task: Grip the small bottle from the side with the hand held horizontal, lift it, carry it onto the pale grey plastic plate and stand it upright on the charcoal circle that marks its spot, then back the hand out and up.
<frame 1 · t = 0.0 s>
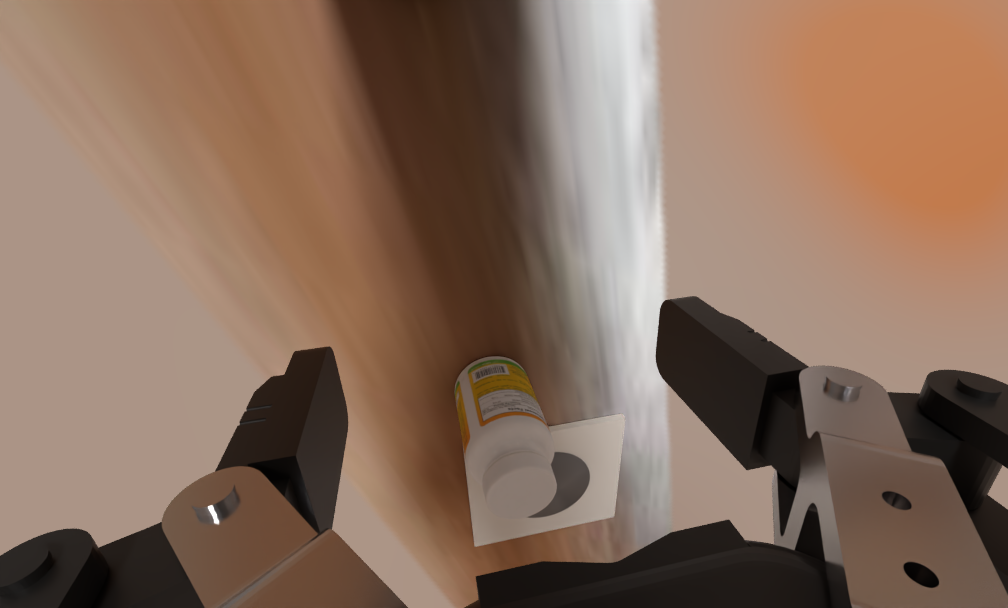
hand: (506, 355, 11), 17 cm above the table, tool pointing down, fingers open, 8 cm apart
supplement bottle: (490, 383, 34), on the table
layout plate: (544, 480, 39), on the table
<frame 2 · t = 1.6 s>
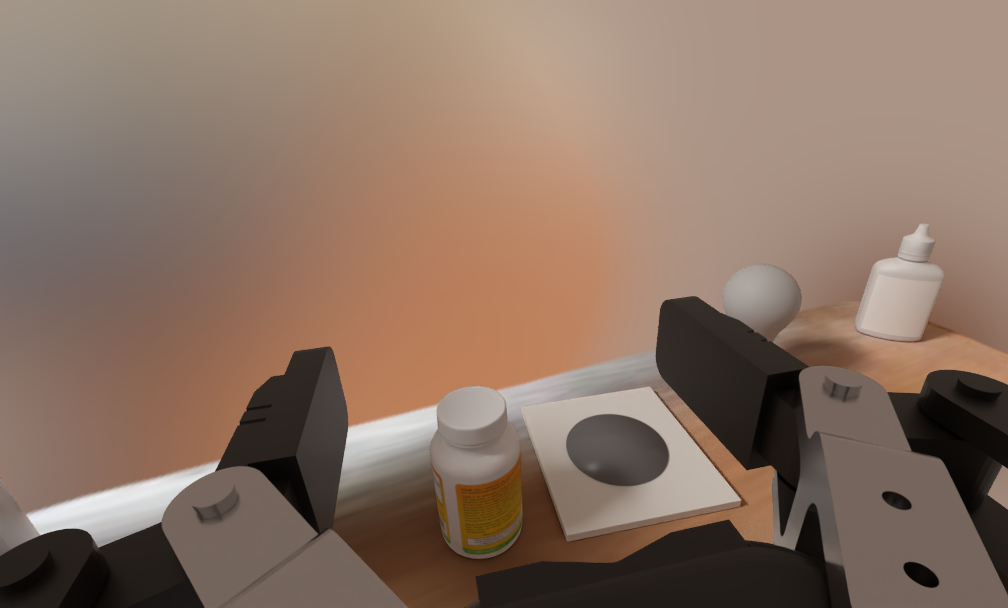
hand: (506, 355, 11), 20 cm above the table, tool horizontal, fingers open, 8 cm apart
eye dropper bottle: (885, 334, 50), on the table
lightbulb: (743, 375, 45), on the table
supplement bottle: (482, 526, 31), on the table
layout plate: (615, 453, 36), on the table
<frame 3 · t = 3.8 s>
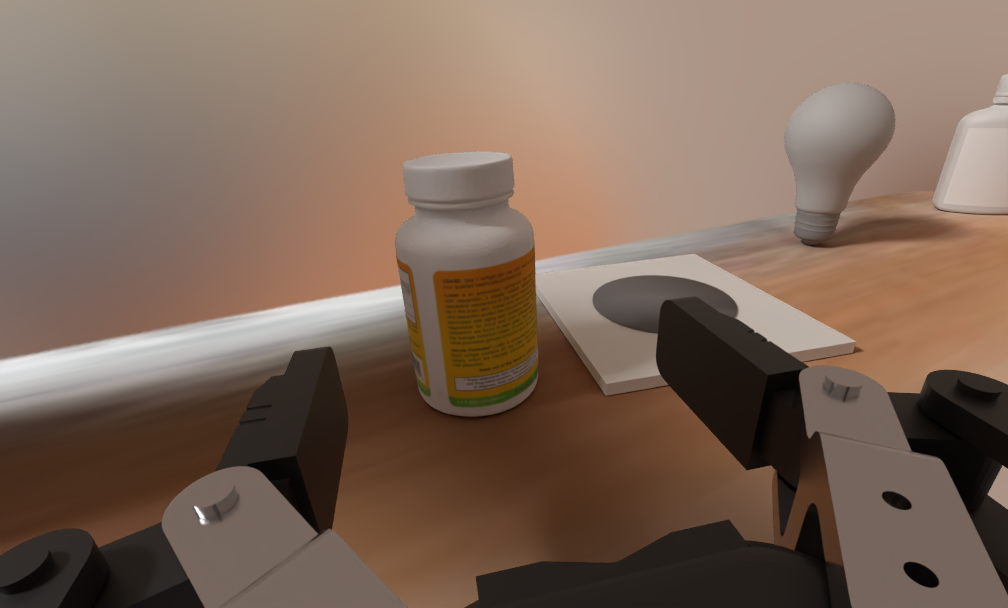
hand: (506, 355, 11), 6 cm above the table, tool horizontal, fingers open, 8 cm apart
eye dropper bottle: (972, 212, 41), on the table
lightbulb: (810, 246, 35), on the table
supplement bottle: (479, 386, 21), on the table
layout plate: (660, 311, 26), on the table
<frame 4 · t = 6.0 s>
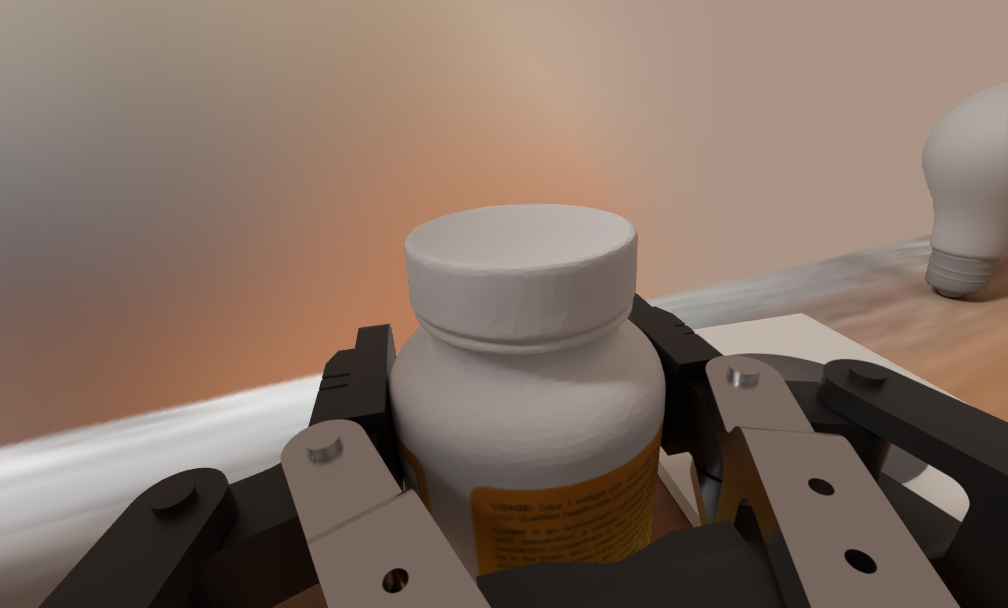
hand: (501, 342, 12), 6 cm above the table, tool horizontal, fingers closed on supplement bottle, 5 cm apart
lightbulb: (947, 298, 26), on the table
supplement bottle: (534, 595, 12), on the table, touching gripper
layout plate: (791, 422, 17), on the table
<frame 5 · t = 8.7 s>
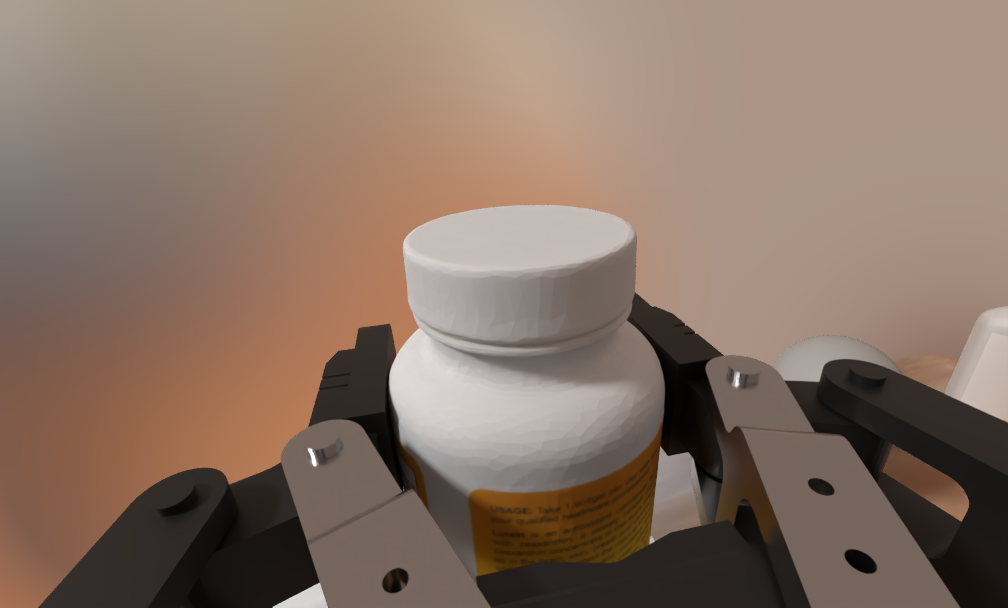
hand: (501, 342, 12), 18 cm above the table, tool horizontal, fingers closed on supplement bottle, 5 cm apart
eye dropper bottle: (992, 416, 34), on the table
lightbulb: (798, 502, 28), on the table
supplement bottle: (533, 596, 12), point 11 cm above the table, touching gripper
when the fingers open (8 cm above the table, at t = 11.4 s): supplement bottle stays where it is, resting on layout plate.
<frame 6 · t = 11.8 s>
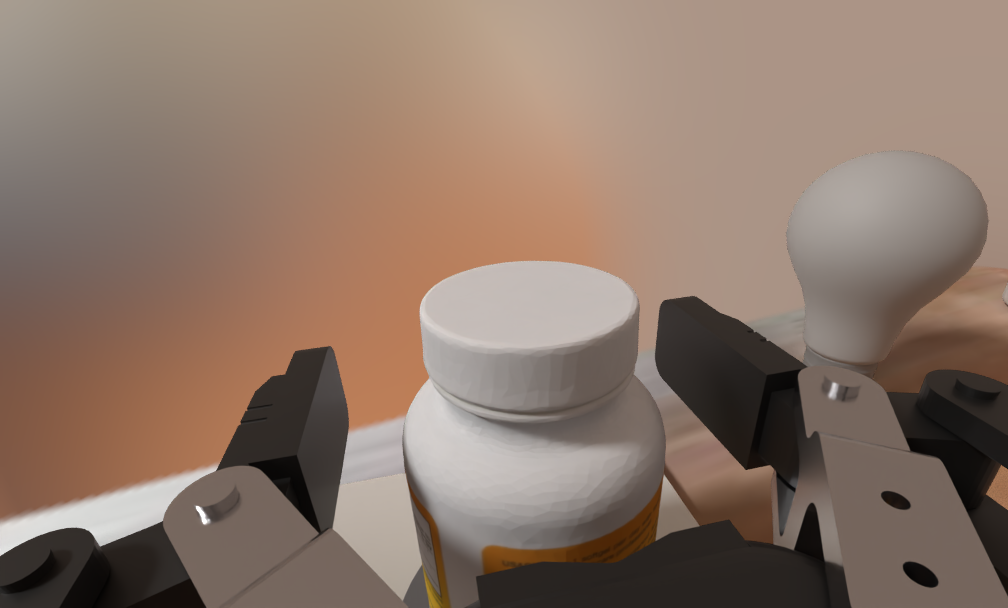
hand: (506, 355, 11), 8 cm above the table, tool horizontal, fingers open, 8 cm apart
lightbulb: (827, 400, 22), on the table
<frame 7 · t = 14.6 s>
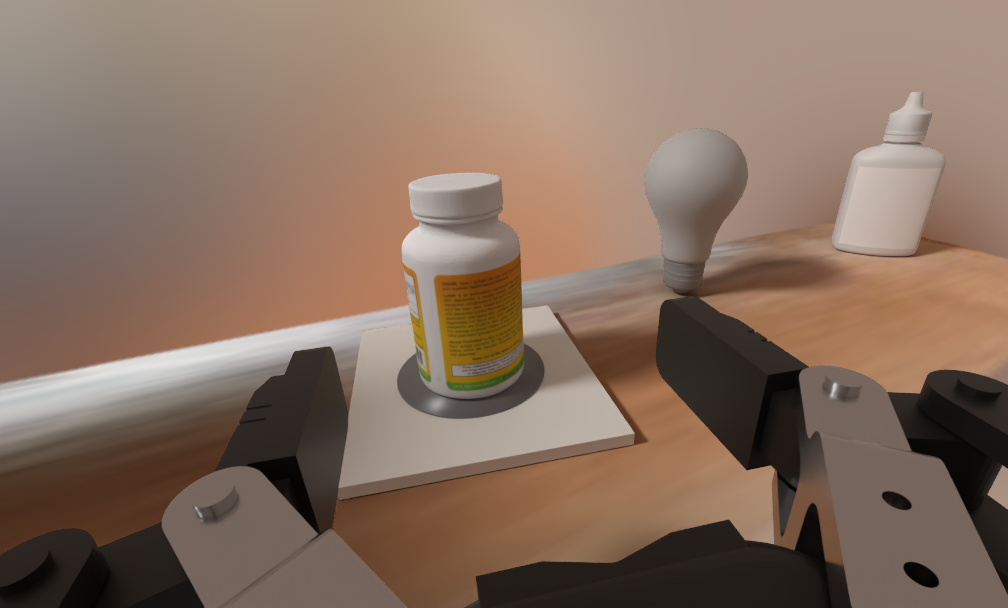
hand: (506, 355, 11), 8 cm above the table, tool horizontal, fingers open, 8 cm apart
eye dropper bottle: (870, 252, 39), on the table
lightbulb: (680, 294, 33), on the table
supplement bottle: (473, 374, 24), point 1 cm above the table, touching layout plate
layout plate: (472, 381, 24), on the table
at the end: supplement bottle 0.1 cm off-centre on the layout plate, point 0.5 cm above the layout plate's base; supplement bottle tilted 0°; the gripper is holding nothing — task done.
